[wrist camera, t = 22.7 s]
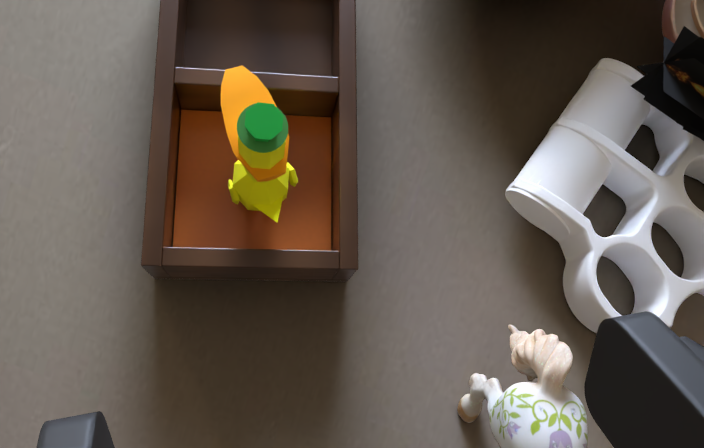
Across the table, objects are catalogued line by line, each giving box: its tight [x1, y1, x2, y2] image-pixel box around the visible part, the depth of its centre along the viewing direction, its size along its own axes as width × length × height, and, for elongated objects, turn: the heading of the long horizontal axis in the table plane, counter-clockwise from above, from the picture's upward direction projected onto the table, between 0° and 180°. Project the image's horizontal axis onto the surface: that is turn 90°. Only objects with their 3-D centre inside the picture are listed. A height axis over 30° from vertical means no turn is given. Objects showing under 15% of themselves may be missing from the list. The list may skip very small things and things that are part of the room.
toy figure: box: [221, 65, 298, 222], centre depth 31 cm, size 7×4×12 cm, turn 20°
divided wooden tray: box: [141, 0, 358, 282], centre depth 37 cm, size 11×21×4 cm, turn 0°
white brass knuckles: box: [505, 58, 704, 333], centre depth 40 cm, size 3×18×15 cm
